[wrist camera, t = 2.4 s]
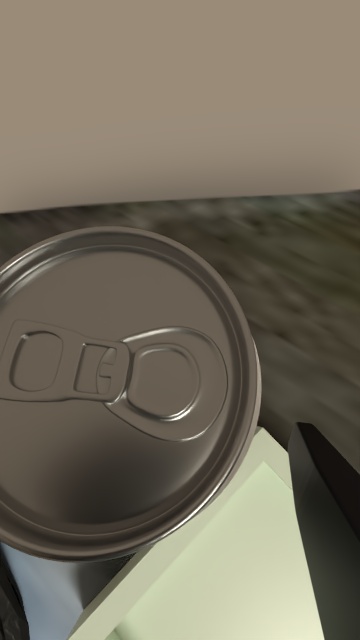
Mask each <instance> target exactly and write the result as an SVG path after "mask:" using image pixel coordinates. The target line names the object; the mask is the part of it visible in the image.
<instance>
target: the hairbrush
mask: <svg viewBox="0 0 360 640" xmlns="http://www.w3.org/2000/svg"><path fill="white" fill-rule="evenodd" d="M10 582H11V583H12V585H13V586H14V588H15V589H16V591H17V593H18V596H19V600H20V603H21V606H22V609H21V607H20V604H19V602H18V600H17V598H16V595H15V593H14V591H13V589H12V587H11V584H10ZM22 610H23V611H22ZM0 640H30V636H29V626H28V622H27V620H26V617H25V611H24V606H23V601H22V597H21V595H20V592H19V590H18V588H17V586H16V583H15V582H14V580H13V578H12V576H11V574H10V573H9V571H8V569H7V567H6V566H5V564H4V562H3V560H2V558H1V557H0Z"/></svg>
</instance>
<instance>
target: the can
mask: <svg viewBox="0 0 360 640" xmlns="http://www.w3.org/2000/svg"><path fill="white" fill-rule="evenodd" d="M260 403H261V372H260V364H259V359H258V354H257V350H256V346H255V343H254V340H253V337H252V334H251V331H250V328H249V324H248V322H247V319H246V316H245V314H244V312H243V310H242V308H241V306H240V304H239V302H238V300H237V298H236V296H235V295H234V293H233V292H232V290H231V289H230V287H229V286H228V284H227V283H226V282H225V281H224V279H223V278H222V277H221V276H220V275H219V273H218V272H217V271H216V270H215V269H214V268H213V267H212V266H211V265H210V264H209V263H207V262H206V261H205V260H204V259H203V258H201V257H200V256H199V255H197V254H196V253H195V252H193V251H192V250H190V249H189V248H187V247H185V246H184V245H182V244H180V243H178V242H176V241H174V240H172V239H170V238H167V237H165V236H162V235H159V234H156V233H153V232H150V231H146V230H141V229H136V228H130V227H118V226H102V227H91V228H84V229H78V230H74V231H70V232H66V233H62V234H59V235H56V236H54V237H51V238H48V239H46V240H43V241H41V242H39V243H37V244H35V245H33V246H31V247H29V248H27V249H26V250H24V251H22V252H21V253H19V254H17V255H16V256H14V257H13V258H12V259H10V260H9V261H7V262H6V263H5V264H3V265H2V266H1V267H0V541H1V542H3V543H5V544H6V545H8V546H10V547H12V548H14V549H17V550H19V551H21V552H24V553H26V554H29V555H32V556H35V557H39V558H43V559H47V560H53V561H60V562H72V563H86V562H97V561H105V560H110V559H115V558H119V557H122V556H126V555H129V554H132V553H135V552H137V551H140V550H143V549H145V548H147V547H149V546H151V545H153V544H155V543H157V542H159V541H161V540H163V539H164V538H166V537H168V536H169V535H171V534H172V533H174V532H175V531H177V530H178V529H180V528H181V527H182V526H184V525H185V524H186V523H187V522H189V521H190V520H192V519H193V518H194V517H196V516H197V515H199V514H200V513H201V512H202V511H203V510H205V509H206V508H207V507H208V506H209V505H210V504H211V503H212V502H213V501H214V500H215V499H216V498H217V497H218V496H219V495H220V494H221V493H222V492H223V490H224V489H225V488H226V487H227V485H228V484H229V483H230V481H231V480H232V479H233V477H234V476H235V474H236V472H237V471H238V469H239V467H240V466H241V464H242V462H243V460H244V458H245V456H246V454H247V452H248V449H249V447H250V444H251V442H252V439H253V436H254V433H255V429H256V426H257V421H258V417H259V411H260Z"/></svg>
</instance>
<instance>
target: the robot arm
mask: <svg viewBox="0 0 360 640" xmlns="http://www.w3.org/2000/svg"><path fill="white" fill-rule="evenodd" d="M288 456H289V464H290V473H291V481H292V489H293V497H294V505H295V512H296V517H297V522H298V526H299V531H300V535H301V539H302V544H303V548H304V553H305V557H306V561H307V566H308V570H309V574H310V579H311V583H312V588H313V592H314V596H315V601H316V605H317V609H318V614H319V618H320V622H321V627H322V631H323V636H324V640H360V475H359V473H358V472H357V471H356V470H355V469H354V468H353V467H352V466H351V465H350V464H349V463H348V462H347V461H346V459H345V458H344V457H343V456H342V455H341V454H340V453H339V452H338V451H337V450H336V449H335V448H334V447H333V445H332V444H331V443H330V442H329V441H328V440H327V439H326V438H325V437H324V436H323V435H322V434H321V433H320V431H319V430H318V429H317V428H316V427H315V426H314V425H312V424H310V423H302V422H296V423H295V424H294V427H293V430H292V433H291V436H290V439H289V442H288Z"/></svg>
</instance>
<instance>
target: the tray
mask: <svg viewBox="0 0 360 640" xmlns="http://www.w3.org/2000/svg"><path fill="white" fill-rule="evenodd" d="M67 640H324V636H323V631H322V627H321V622H320V618H319V614H318V609H317V605H316V601H315V596H314V592H313V588H312V583H311V579H310V574H309V570H308V566H307V561H306V557H305V553H304V548H303V544H302V539H301V535H300V531H299V526H298V522H297V517H296V512H295V505H294V497H293V489H292V481H291V473H290V464H289V456H288V453H287V452H286V451H285V450H284V449H283V448H282V447H281V446H280V445H279V443H278V442H277V441H276V440H275V439H274V438H273V437H272V436H271V435H270V434H269V433H268V432H267V431H266V430H265V429H264V428H263V427H259V426H256V429H255V433H254V436H253V439H252V442H251V444H250V447H249V449H248V452H247V454H246V456H245V458H244V460H243V462H242V464H241V466H240V467H239V469H238V471H237V472H236V474H235V476H234V477H233V479H232V480H231V481H230V483H229V484H228V485H227V487H226V488H225V489H224V490H223V492H222V493H221V494H220V495H219V496H218V497H217V498H216V499H215V500H214V501H213V502H212V503H211V504H210V505H209V506H208V507H207V508H206V509H205V510H203V511H202V512H201V513H200V514H199V515H197V516H196V517H194V518H193V519H192V520H190V521H189V522H187V523H186V524H185V525H184V526H182V527H181V528H180V529H178V530H177V531H175V532H174V533H172V534H171V535H169V536H168V537H166V538H164V539H163V540H161V541H159V542H157V543H155V544H153V545H151V546H149V547H147V548H145V549H143V550H140V551H138V552H137V553H136V554H135V555H134V556H133V557H132V558H131V559H130V561H129V562H128V563H127V564H126V565H125V566H124V567H123V568H122V569H121V570H120V571H119V572H118V574H117V575H116V576H115V577H114V578H113V579H112V580H111V581H110V582H109V583H108V584H107V585H106V587H105V588H104V589H103V590H102V591H101V592H100V593H99V594H98V595H97V596H96V597H95V598H94V599H93V601H92V602H91V603H90V604H89V605H88V606H87V607H86V608H85V609H84V610H83V612H82V614H81V615H80V617H79V619H78V621H77V622H76V624H75V626H74V628H73V629H72V631H71V633H70V635H69V636H68V638H67Z"/></svg>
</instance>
